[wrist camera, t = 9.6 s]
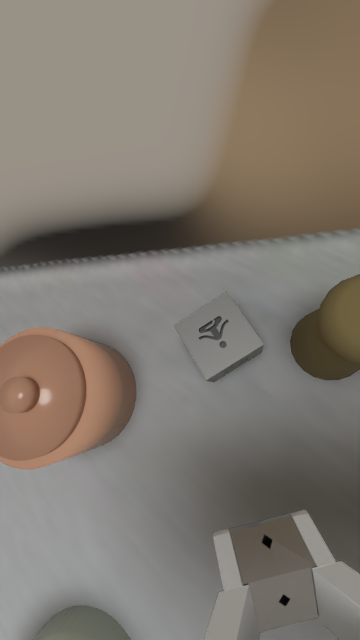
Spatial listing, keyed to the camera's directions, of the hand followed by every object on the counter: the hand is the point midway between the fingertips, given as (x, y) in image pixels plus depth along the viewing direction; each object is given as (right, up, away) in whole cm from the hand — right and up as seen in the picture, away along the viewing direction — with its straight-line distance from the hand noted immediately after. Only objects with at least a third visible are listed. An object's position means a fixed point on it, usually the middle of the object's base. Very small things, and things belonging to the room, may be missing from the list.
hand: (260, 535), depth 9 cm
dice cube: (+1, +4, +19) cm, 19 cm away
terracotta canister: (-12, -1, +20) cm, 23 cm away
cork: (+10, +5, +17) cm, 20 cm away
